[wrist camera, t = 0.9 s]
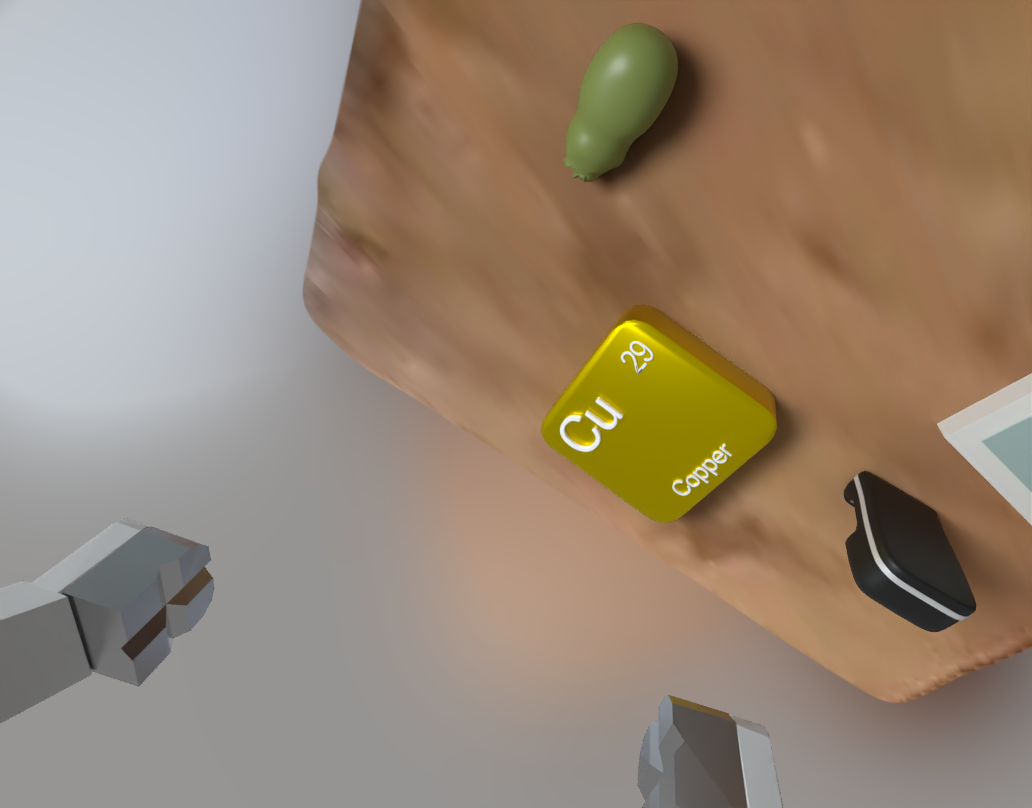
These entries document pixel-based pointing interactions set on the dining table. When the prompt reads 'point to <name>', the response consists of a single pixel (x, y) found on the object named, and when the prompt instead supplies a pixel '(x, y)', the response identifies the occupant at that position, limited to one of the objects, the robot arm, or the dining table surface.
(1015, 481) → the plate
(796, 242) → the dining table surface
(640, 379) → the element tile
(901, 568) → the battery charger
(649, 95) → the pear
